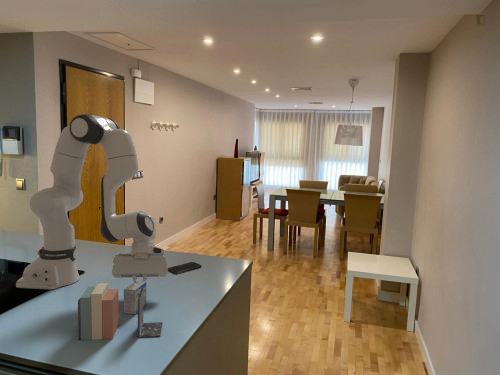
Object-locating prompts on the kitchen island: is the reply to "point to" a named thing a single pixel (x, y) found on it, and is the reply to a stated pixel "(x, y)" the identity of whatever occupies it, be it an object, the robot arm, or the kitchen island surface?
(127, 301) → the medicine box
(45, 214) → the robot arm
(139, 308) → the bookends
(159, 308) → the kitchen island surface
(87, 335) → the books
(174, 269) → the phone
